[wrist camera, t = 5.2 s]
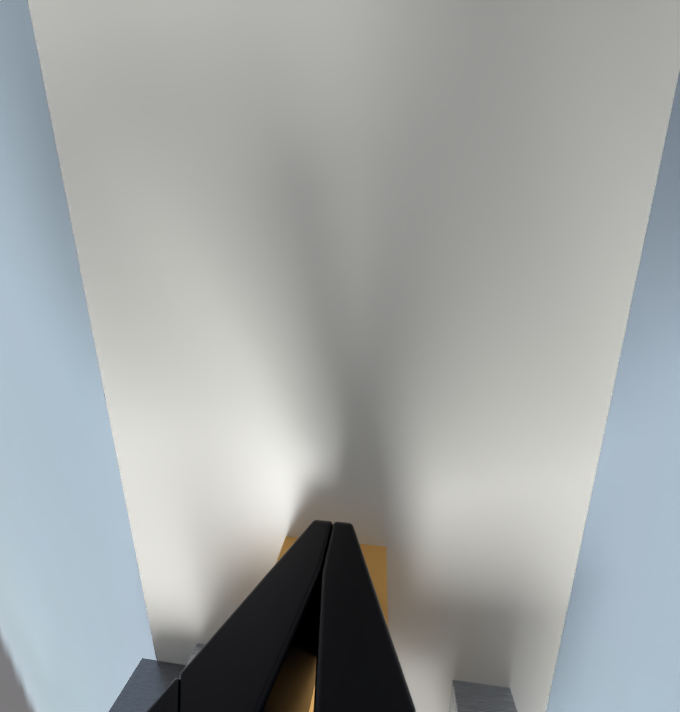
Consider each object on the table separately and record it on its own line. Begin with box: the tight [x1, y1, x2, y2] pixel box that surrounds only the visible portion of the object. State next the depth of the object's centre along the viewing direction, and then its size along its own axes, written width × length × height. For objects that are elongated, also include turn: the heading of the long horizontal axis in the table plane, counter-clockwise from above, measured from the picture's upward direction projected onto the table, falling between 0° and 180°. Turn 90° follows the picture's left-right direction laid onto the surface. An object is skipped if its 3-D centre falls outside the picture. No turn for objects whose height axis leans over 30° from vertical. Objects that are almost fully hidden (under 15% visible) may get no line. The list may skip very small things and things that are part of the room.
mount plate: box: [28, 0, 680, 712], centre depth 10 cm, size 12×38×1 cm, turn 1°
